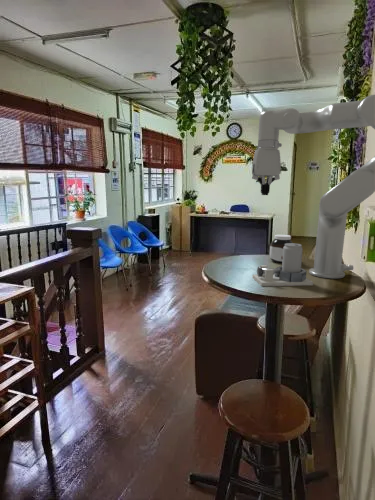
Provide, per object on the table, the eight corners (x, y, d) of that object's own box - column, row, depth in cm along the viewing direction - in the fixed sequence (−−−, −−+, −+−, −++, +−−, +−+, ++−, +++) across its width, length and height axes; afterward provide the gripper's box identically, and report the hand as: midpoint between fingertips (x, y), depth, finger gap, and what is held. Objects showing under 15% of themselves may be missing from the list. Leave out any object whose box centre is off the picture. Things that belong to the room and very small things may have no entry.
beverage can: (300, 281, 117) (304, 246, 114) (281, 279, 118) (284, 245, 116) (299, 276, 123) (302, 243, 121) (280, 274, 124) (283, 242, 122)
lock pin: (277, 275, 122) (278, 265, 121) (281, 277, 118) (282, 267, 117) (256, 275, 121) (257, 265, 120) (260, 278, 117) (260, 267, 117)
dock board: (299, 277, 126) (301, 263, 125) (312, 285, 117) (314, 270, 116) (252, 277, 124) (253, 264, 123) (261, 286, 114) (262, 271, 113)
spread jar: (269, 263, 148) (271, 236, 145) (268, 257, 159) (270, 232, 156) (298, 264, 146) (300, 237, 143) (295, 259, 157) (297, 233, 154)
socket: (297, 274, 126) (298, 266, 125) (309, 281, 116) (310, 273, 116) (271, 274, 125) (272, 266, 124) (282, 282, 115) (283, 273, 115)
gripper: (282, 147, 135) (279, 194, 139) (245, 146, 133) (243, 194, 137) (290, 145, 128) (287, 195, 131) (251, 144, 126) (249, 195, 129)
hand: (264, 194), depth 134 cm, fingers closed
